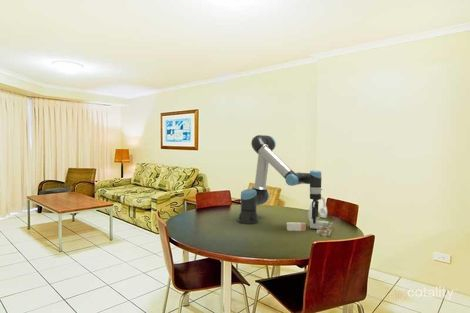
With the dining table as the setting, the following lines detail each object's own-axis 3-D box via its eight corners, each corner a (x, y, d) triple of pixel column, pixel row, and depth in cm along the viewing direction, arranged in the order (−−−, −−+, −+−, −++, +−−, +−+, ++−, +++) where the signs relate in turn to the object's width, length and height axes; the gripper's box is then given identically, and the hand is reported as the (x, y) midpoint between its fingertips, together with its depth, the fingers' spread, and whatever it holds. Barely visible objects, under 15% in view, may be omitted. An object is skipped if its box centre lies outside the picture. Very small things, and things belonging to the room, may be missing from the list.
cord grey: (309, 228, 197) (309, 221, 197) (311, 226, 201) (311, 220, 201) (328, 229, 192) (328, 223, 192) (329, 228, 196) (329, 221, 196)
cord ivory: (287, 230, 193) (287, 223, 193) (286, 228, 198) (286, 222, 197) (305, 231, 192) (305, 224, 192) (304, 229, 197) (304, 222, 196)
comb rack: (316, 235, 183) (316, 227, 183) (321, 226, 202) (321, 220, 202) (329, 236, 180) (329, 229, 180) (333, 228, 199) (333, 221, 198)
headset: (313, 223, 212) (314, 199, 211) (305, 221, 217) (306, 197, 217) (328, 219, 225) (329, 196, 224) (320, 217, 230) (321, 195, 230)
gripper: (319, 195, 188) (318, 231, 189) (322, 191, 204) (322, 224, 205) (307, 194, 191) (307, 229, 192) (312, 191, 207) (311, 223, 208)
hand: (315, 227), depth 198 cm, fingers closed on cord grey, 4 cm apart
